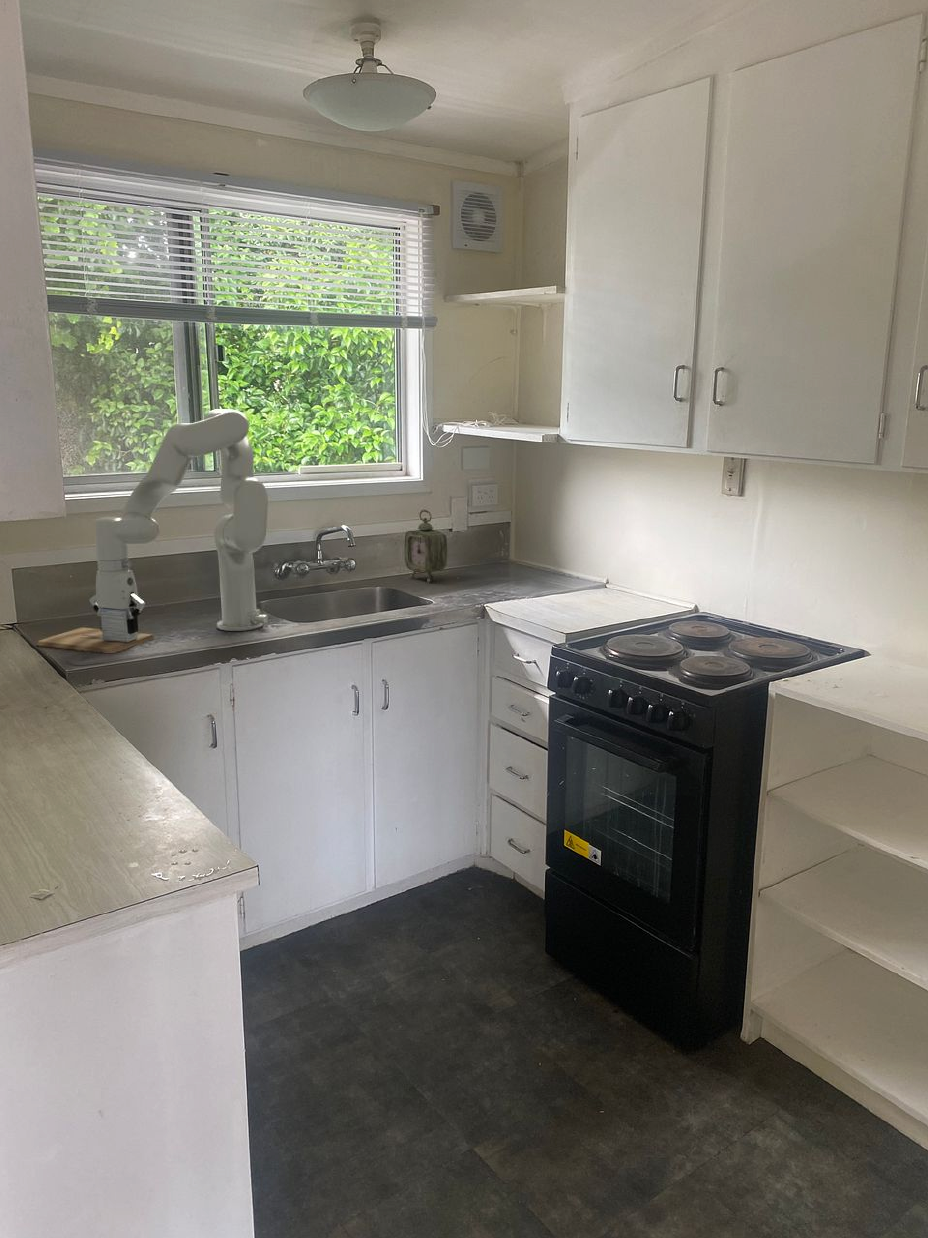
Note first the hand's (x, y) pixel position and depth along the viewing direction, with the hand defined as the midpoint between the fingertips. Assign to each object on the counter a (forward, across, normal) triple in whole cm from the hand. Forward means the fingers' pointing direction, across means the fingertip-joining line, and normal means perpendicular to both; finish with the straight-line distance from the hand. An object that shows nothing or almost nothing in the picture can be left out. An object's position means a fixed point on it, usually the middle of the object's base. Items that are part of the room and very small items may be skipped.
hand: (119, 631), depth 242 cm
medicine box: (+2, 0, 0) cm, 2 cm away
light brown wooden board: (+4, +8, 0) cm, 9 cm away
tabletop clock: (+4, -42, -110) cm, 118 cm away
